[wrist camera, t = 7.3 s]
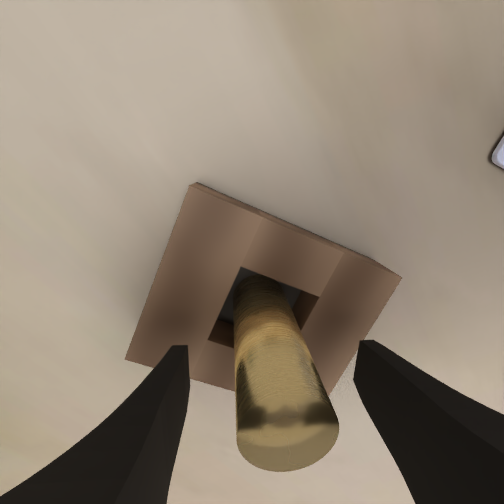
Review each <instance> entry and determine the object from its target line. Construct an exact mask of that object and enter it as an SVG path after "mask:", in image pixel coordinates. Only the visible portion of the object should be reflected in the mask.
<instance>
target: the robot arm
mask: <svg viewBox="0 0 504 504" xmlns="http://www.w3.org/2000/svg"><path fill="white" fill-rule="evenodd" d="M492 161H493V163H494V164H496V165H498V166H499V167H501V168H503V169H504V136H503V138H502V139H501V141H500V142H499V144H498V146H497V147H496V149H495V150H494V152H493V154H492ZM353 381H354V383H355V386H356V388H357V391H358V393H359V396H360V398H361V400H362V403H363V405H364V407H365V408H366V410H367V412H368V414H369V416H370V417H371V419H372V421H373V423H374V425H375V426H376V428H377V430H378V432H379V433H380V435H381V437H382V439H383V441H384V442H385V444H386V446H387V448H388V449H389V451H390V453H391V455H392V456H393V458H394V460H395V462H396V464H397V466H398V468H399V470H400V471H401V473H402V475H403V477H404V480H405V482H406V484H407V486H408V488H409V491H410V493H411V495H412V497H413V499H414V501H415V504H504V415H503V414H501V413H499V412H497V411H495V410H493V409H491V408H488V407H486V406H485V405H483V404H481V403H479V402H477V401H475V400H473V399H471V398H469V397H467V396H465V395H463V394H461V393H460V392H458V391H456V390H454V389H452V388H451V387H449V386H447V385H445V384H444V383H442V382H440V381H439V380H437V379H435V378H433V377H432V376H430V375H429V374H427V373H425V372H424V371H422V370H421V369H419V368H417V367H416V366H414V365H413V364H411V363H410V362H408V361H406V360H405V359H403V358H402V357H400V356H399V355H397V354H396V353H394V352H393V351H391V350H389V349H388V348H386V347H385V346H383V345H381V344H380V343H378V342H376V341H374V340H360V341H359V347H358V353H357V359H356V366H355V372H354V378H353ZM189 391H190V374H189V355H188V345H172V346H171V347H170V348H169V350H168V351H167V352H166V354H165V355H164V356H163V358H162V359H161V360H160V361H159V363H158V364H157V365H156V366H155V368H154V369H153V370H152V371H151V372H150V374H149V375H148V376H147V377H146V378H145V379H144V381H143V382H142V383H141V384H140V385H139V386H138V387H137V388H136V389H135V390H134V391H133V392H132V394H131V395H130V396H129V397H128V398H127V399H126V400H125V401H124V402H123V403H122V404H121V405H120V406H119V407H118V408H117V409H116V410H115V411H114V412H113V413H112V414H111V415H109V416H108V417H107V418H106V419H105V420H104V421H103V422H102V423H101V424H99V425H98V426H97V427H96V428H95V429H94V430H92V431H91V432H90V433H89V434H88V435H86V436H85V437H84V438H83V439H81V440H80V441H79V442H78V443H76V444H75V445H74V446H73V447H71V448H70V449H69V450H68V451H66V452H65V453H64V454H62V455H61V456H59V457H58V458H57V459H55V460H54V461H53V462H51V463H50V464H48V465H47V466H46V467H44V468H43V469H41V470H40V471H38V472H37V473H36V474H34V475H33V476H31V477H30V478H28V479H27V480H25V481H24V482H22V483H21V484H19V485H18V486H16V487H15V488H13V489H11V490H10V491H8V492H7V493H5V494H3V495H2V496H0V504H166V503H167V496H168V490H169V485H170V480H171V476H172V471H173V467H174V463H175V459H176V455H177V451H178V447H179V442H180V438H181V434H182V430H183V426H184V422H185V417H186V413H187V406H188V399H189Z"/></svg>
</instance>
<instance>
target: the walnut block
mask: <svg viewBox="0 0 504 504" xmlns="http://www.w3.org/2000/svg"><path fill="white" fill-rule="evenodd" d="M257 274H262V275H264V276H267V277H269V278H272V279H275V280H277V281H278V282H279V283H280V285H281V286H282V288H283V291H284V293H285V296H286V298H287V300H288V303H289V305H290V307H291V310H292V312H293V314H294V317H295V319H296V321H297V324H298V326H299V329H300V331H301V333H302V336H303V338H304V340H305V343H306V345H307V347H308V350H309V352H310V354H311V357H312V359H313V361H314V364H315V366H316V369H317V371H318V373H319V376H320V378H321V380H322V383H323V385H324V387H325V390H326V392H327V394H328V396H329V394H330V393H331V391H332V390H333V388H334V386H335V385H336V383H337V382H338V380H339V378H340V377H341V375H342V374H343V372H344V370H345V369H346V367H347V366H348V364H349V362H350V361H351V359H352V358H353V356H354V354H355V353H356V351H357V350H358V347H359V341H360V340H364V338H365V337H366V335H367V334H368V332H369V330H370V329H371V327H372V326H373V324H374V322H375V321H376V319H377V318H378V316H379V314H380V313H381V311H382V310H383V308H384V306H385V305H386V303H387V302H388V300H389V298H390V297H391V295H392V294H393V292H394V290H395V289H396V287H397V285H398V284H399V282H400V281H401V279H402V277H400V276H399V275H397V274H396V273H394V272H392V271H391V270H389V269H388V268H386V267H384V266H383V265H381V264H380V263H378V262H377V261H375V260H373V259H371V258H369V257H366V256H364V255H362V254H359V253H357V252H355V251H353V250H350V249H348V248H346V247H343V246H341V245H339V244H337V243H334V242H332V241H330V240H327V239H325V238H323V237H321V236H318V235H316V234H314V233H312V232H309V231H307V230H305V229H302V228H300V227H298V226H296V225H293V224H291V223H289V222H286V221H284V220H282V219H280V218H277V217H275V216H273V215H270V214H268V213H266V212H264V211H261V210H259V209H257V208H254V207H252V206H250V205H248V204H245V203H243V202H241V201H238V200H236V199H234V198H232V197H229V196H227V195H225V194H223V193H220V192H218V191H216V190H213V189H211V188H209V187H207V186H204V185H202V184H200V183H197V182H196V183H194V184H192V185H189V188H188V191H187V193H186V196H185V199H184V201H183V204H182V207H181V209H180V212H179V215H178V217H177V220H176V223H175V226H174V228H173V231H172V234H171V236H170V239H169V242H168V244H167V247H166V250H165V252H164V255H163V258H162V260H161V263H160V266H159V268H158V271H157V274H156V276H155V279H154V282H153V284H152V287H151V290H150V293H149V295H148V298H147V301H146V303H145V306H144V309H143V311H142V314H141V317H140V319H139V322H138V325H137V327H136V330H135V333H134V335H133V338H132V341H131V343H130V346H129V349H128V352H127V354H126V357H125V360H128V361H132V362H135V363H139V364H142V365H145V366H149V367H152V368H155V366H156V365H157V364H158V363H159V361H160V360H161V359H162V358H163V356H164V355H165V354H166V352H167V351H168V350H169V348H170V347H171V346H172V345H188V355H189V374H190V379H194V380H197V381H200V382H204V383H207V384H211V385H214V386H218V387H221V388H224V389H228V390H231V391H235V359H234V321H233V294H234V291H235V288H236V287H237V285H238V284H239V283H240V282H241V281H242V280H243V279H245V278H247V277H249V276H252V275H257Z"/></svg>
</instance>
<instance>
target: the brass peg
mask: <svg viewBox="0 0 504 504" xmlns="http://www.w3.org/2000/svg"><path fill="white" fill-rule="evenodd" d="M233 321H234V359H235V397H236V435H237V446H238V449H239V451H240V453H241V454H242V456H243V457H244V458H245V459H246V460H247V461H248V462H249V463H251V464H252V465H254V466H256V467H258V468H261V469H264V470H268V471H275V472H286V471H294V470H298V469H302V468H305V467H307V466H309V465H312V464H314V463H315V462H317V461H319V460H320V459H321V458H323V457H324V456H325V455H326V454H327V453H328V452H329V451H330V450H331V449H332V447H333V446H334V444H335V442H336V440H337V437H338V434H339V422H338V418H337V416H336V413H335V411H334V409H333V406H332V404H331V401H330V399H329V397H328V394H327V392H326V390H325V387H324V385H323V383H322V380H321V378H320V376H319V373H318V371H317V369H316V366H315V364H314V361H313V359H312V357H311V354H310V352H309V350H308V347H307V345H306V343H305V340H304V338H303V336H302V333H301V331H300V329H299V326H298V324H297V321H296V319H295V317H294V314H293V312H292V310H291V307H290V305H289V303H288V300H287V298H286V296H285V293H284V291H283V288H282V286H281V285H280V283H279V282H278V281H277V280H275V279H272V278H269V277H267V276H264V275H262V274H257V275H252V276H249V277H247V278H245V279H243V280H242V281H241V282H240V283H239V284H238V285H237V287H236V288H235V291H234V294H233Z"/></svg>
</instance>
